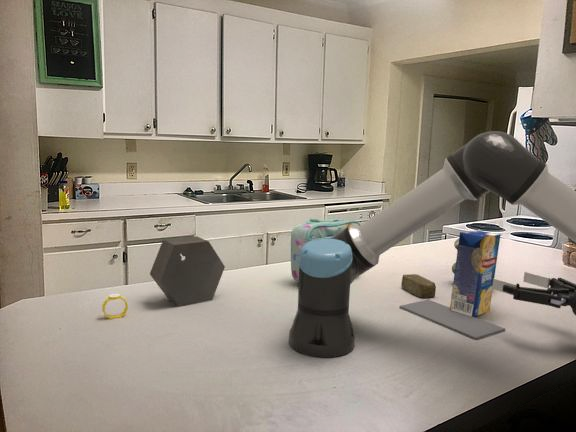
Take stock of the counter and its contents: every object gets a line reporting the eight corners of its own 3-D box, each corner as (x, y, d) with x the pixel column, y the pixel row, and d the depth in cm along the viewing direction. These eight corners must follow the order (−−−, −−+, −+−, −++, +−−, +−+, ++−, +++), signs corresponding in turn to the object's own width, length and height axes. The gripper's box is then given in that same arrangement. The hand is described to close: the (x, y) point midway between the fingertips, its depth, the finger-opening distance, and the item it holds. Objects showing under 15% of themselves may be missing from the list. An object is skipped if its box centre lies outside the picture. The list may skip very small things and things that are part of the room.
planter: (220, 274, 147) (186, 221, 138) (233, 280, 141) (198, 225, 132) (177, 311, 140) (138, 259, 131) (189, 320, 134) (149, 265, 125)
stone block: (420, 299, 145) (421, 283, 144) (399, 288, 156) (400, 273, 155) (436, 298, 147) (437, 282, 146) (414, 287, 158) (415, 272, 157)
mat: (475, 340, 116) (475, 337, 116) (399, 307, 137) (399, 305, 137) (505, 330, 123) (505, 328, 122) (428, 301, 143) (428, 299, 143)
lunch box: (307, 292, 148) (310, 223, 144) (285, 284, 155) (287, 218, 152) (363, 278, 165) (367, 216, 162) (341, 271, 173) (344, 212, 169)
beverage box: (489, 310, 137) (500, 234, 135) (473, 317, 130) (484, 236, 127) (466, 303, 142) (476, 230, 139) (449, 310, 134) (459, 232, 131)
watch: (104, 322, 120) (102, 299, 119) (102, 318, 123) (100, 296, 121) (129, 316, 123) (127, 294, 122) (127, 313, 125) (125, 291, 124)
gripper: (565, 331, 101) (478, 301, 119) (621, 311, 115) (535, 287, 132) (570, 297, 100) (481, 271, 118) (625, 281, 114) (538, 260, 131)
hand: (509, 279), depth 125 cm, fingers open, 13 cm apart
